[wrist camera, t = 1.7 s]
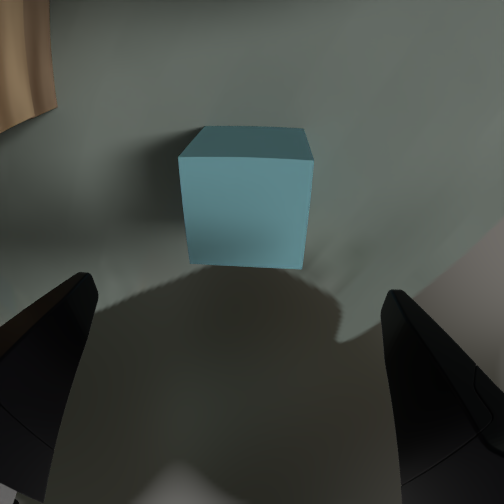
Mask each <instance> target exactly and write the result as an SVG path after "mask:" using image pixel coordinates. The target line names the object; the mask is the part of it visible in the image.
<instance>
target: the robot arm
mask: <svg viewBox="0 0 504 504" xmlns="http://www.w3.org/2000/svg"><path fill="white" fill-rule="evenodd" d="M97 302H98V291H97V288H96V285H95V283H94V280H93V278H92V275H91V274H90V273H85V272H79V273H77V274H75V275H74V276H72V277H71V278H69V279H68V280H66V281H65V282H63V283H62V284H60V285H59V286H57V287H56V288H54V289H53V290H51V291H50V292H48V293H47V294H45V295H44V296H43V297H41V298H40V299H38V300H37V301H35V302H34V303H33V304H31V305H30V306H28V307H27V308H26V309H24V310H23V311H21V312H20V313H19V314H17V315H16V316H14V317H13V318H12V319H10V320H9V321H8V322H6V323H5V324H4V325H2V326H1V327H0V504H19V502H18V501H17V500H16V499H15V495H16V492H19V493H21V494H23V495H25V496H28V497H30V498H32V499H35V500H37V501H39V502H41V503H43V502H44V499H45V493H46V487H47V482H48V477H49V472H50V467H51V462H52V458H53V454H54V448H55V444H56V440H57V436H58V432H59V428H60V425H61V421H62V417H63V414H64V409H65V406H66V403H67V400H68V396H69V393H70V389H71V387H72V383H73V380H74V377H75V374H76V371H77V368H78V365H79V362H80V359H81V356H82V353H83V350H84V348H85V345H86V341H87V339H88V335H89V331H90V327H91V324H92V320H93V316H94V312H95V309H96V305H97ZM381 325H382V336H383V347H384V359H385V366H386V372H387V377H388V383H389V389H390V395H391V402H392V408H393V415H394V422H395V430H396V438H397V446H398V456H399V466H400V478H401V485H402V486H401V494H402V504H504V393H503V391H501V390H500V389H499V388H498V387H497V386H496V385H495V384H494V383H493V381H492V380H491V379H490V378H489V377H488V376H487V375H486V374H485V373H484V372H483V371H482V370H481V369H480V368H479V366H476V363H475V362H474V361H473V360H472V359H471V358H470V357H469V356H468V355H467V354H466V353H465V352H464V351H463V350H462V348H460V346H459V345H458V344H457V343H456V342H455V341H454V340H453V339H452V338H451V337H450V336H449V335H448V334H447V333H446V332H445V331H444V330H443V329H442V328H441V327H440V326H439V325H438V324H437V323H436V322H435V321H434V320H433V319H432V318H431V317H430V316H429V315H428V314H427V313H426V312H425V311H424V310H423V309H422V308H421V307H420V306H419V305H418V304H417V303H416V302H415V301H414V300H413V299H412V298H411V297H409V296H408V295H407V294H406V293H405V292H404V291H403V290H389V291H388V293H387V296H386V298H385V301H384V304H383V306H382V309H381Z"/></svg>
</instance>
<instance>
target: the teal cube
mask: <svg viewBox="0 0 504 504" xmlns="http://www.w3.org/2000/svg"><path fill="white" fill-rule="evenodd" d="M178 163H179V174H180V184H181V194H182V203H183V212H184V221H185V229H186V237H187V245H188V253H189V260H190V264H207V265H225V266H245V267H266V268H286V269H302V265H303V257H304V249H305V241H306V233H307V224H308V215H309V206H310V197H311V187H312V177H313V166H314V159H313V156H312V153H311V150H310V147H309V144H308V140H307V137H306V134H305V132H304V129H301V128H283V127H258V126H205V127H204V128H203V129H202V130H201V131H200V132H199V133H198V134H197V136H196V137H195V138H194V139H193V140H192V141H191V142H190V144H189V145H188V146H187V147H186V148H185V149H184V151H183V152H182V153H181V154H180V155H179V157H178Z"/></svg>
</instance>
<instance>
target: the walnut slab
mask: <svg viewBox="0 0 504 504" xmlns="http://www.w3.org/2000/svg"><path fill="white" fill-rule="evenodd" d="M23 18H24V37H25V49H26V60H27V68H28V76H29V84H30V90H31V97H32V102H33V108H34V114H35V116H33V117H31V118H29V119H32V118H34V117H36V116H39V115H41V114H43V113H45V112H47V111H50V110H52V109H54V108H57V100H56V93H55V85H54V76H53V67H52V55H51V40H50V10H49V0H23ZM27 120H28V119H27Z"/></svg>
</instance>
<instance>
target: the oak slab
mask: <svg viewBox="0 0 504 504" xmlns="http://www.w3.org/2000/svg"><path fill="white" fill-rule="evenodd" d="M33 116H35V114H34V108H33V102H32V97H31V90H30V84H29V76H28V68H27V60H26V49H25V37H24V18H23V0H0V133H2V132H3V131H5V130H7V129H9V128H11V127H13V126H15V125H17V124H19V123H21V122H23V121H25V120H27V119H29V118H31V117H33Z"/></svg>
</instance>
